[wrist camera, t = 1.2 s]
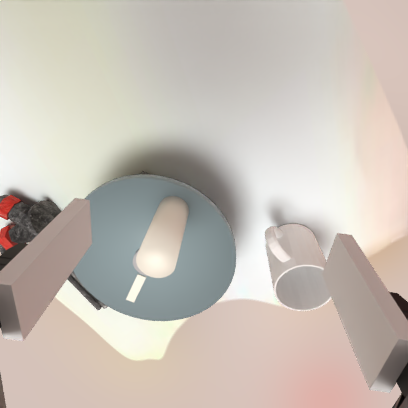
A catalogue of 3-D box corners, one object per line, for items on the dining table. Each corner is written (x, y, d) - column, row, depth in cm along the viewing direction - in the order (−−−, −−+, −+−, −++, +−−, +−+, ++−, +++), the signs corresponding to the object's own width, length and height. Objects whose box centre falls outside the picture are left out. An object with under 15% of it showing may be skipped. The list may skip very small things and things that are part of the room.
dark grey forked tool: (-22, 205, 54) (34, 174, 48) (75, 303, 64) (131, 288, 58) (-53, 228, 48) (5, 196, 42) (58, 330, 59) (118, 316, 53)
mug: (324, 249, 50) (346, 296, 41) (281, 271, 53) (292, 319, 43) (285, 192, 46) (300, 230, 37) (241, 219, 49) (244, 260, 39)
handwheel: (194, 331, 48) (184, 410, 37) (55, 277, 45) (3, 346, 34) (267, 220, 38) (281, 285, 28) (96, 143, 35) (42, 182, 25)
